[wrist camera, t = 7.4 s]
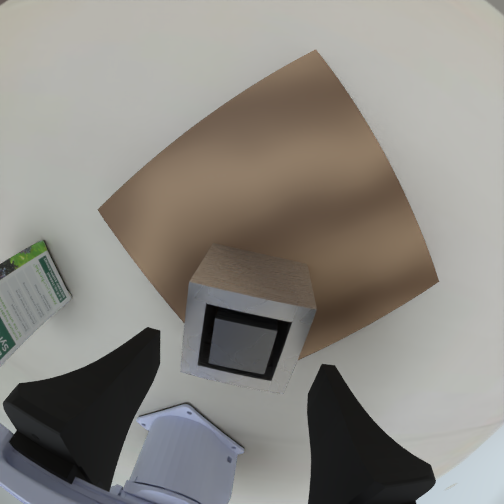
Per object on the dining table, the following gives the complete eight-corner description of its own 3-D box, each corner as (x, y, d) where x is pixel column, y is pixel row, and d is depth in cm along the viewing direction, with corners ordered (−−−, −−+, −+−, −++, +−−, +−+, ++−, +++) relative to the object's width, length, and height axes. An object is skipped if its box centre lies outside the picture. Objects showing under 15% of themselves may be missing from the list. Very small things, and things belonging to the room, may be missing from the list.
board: (429, 272, 18) (439, 281, 16) (243, 371, 22) (240, 384, 21) (312, 57, 14) (315, 49, 12) (109, 204, 18) (97, 209, 17)
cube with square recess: (307, 264, 17) (316, 309, 12) (283, 338, 19) (283, 394, 14) (213, 243, 17) (189, 281, 12) (201, 320, 19) (180, 372, 14)
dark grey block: (278, 281, 17) (277, 331, 13) (268, 319, 18) (264, 374, 14) (231, 271, 17) (215, 318, 13) (224, 310, 18) (208, 362, 14)
